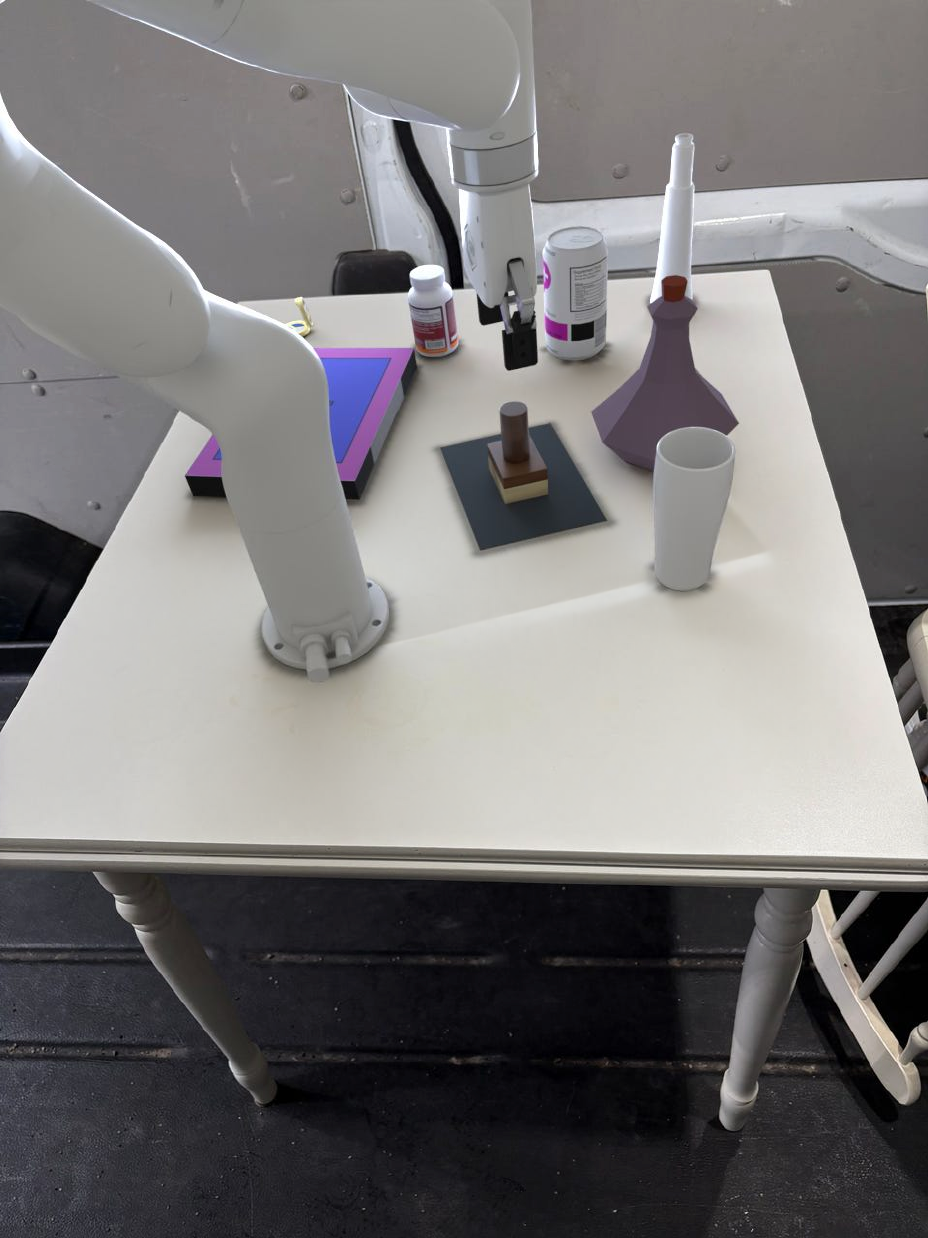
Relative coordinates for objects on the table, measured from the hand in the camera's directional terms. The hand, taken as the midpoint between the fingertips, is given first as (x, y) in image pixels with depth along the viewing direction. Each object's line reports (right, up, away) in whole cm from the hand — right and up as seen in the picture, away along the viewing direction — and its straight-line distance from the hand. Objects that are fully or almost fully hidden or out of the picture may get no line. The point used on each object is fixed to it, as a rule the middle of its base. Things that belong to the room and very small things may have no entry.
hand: (507, 343), depth 84 cm
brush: (+2, -12, +11) cm, 17 cm away
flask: (+19, -8, +14) cm, 24 cm away
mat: (+2, -12, +12) cm, 17 cm away
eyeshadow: (-30, +16, +44) cm, 55 cm away
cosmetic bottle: (+26, +19, +38) cm, 50 cm away
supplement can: (+11, +10, +32) cm, 35 cm away
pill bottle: (-8, +11, +36) cm, 38 cm away
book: (-24, -3, +25) cm, 34 cm away
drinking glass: (+17, -23, -1) cm, 29 cm away
